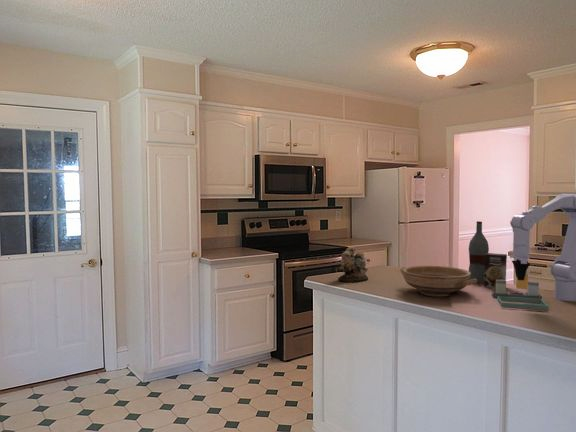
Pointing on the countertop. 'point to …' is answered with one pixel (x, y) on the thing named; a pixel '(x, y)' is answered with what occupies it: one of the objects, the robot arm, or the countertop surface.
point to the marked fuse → (522, 282)
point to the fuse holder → (515, 295)
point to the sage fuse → (501, 286)
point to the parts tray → (518, 305)
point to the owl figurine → (353, 266)
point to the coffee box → (494, 269)
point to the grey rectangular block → (533, 288)
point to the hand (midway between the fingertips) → (520, 279)
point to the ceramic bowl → (437, 279)
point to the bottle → (478, 254)
